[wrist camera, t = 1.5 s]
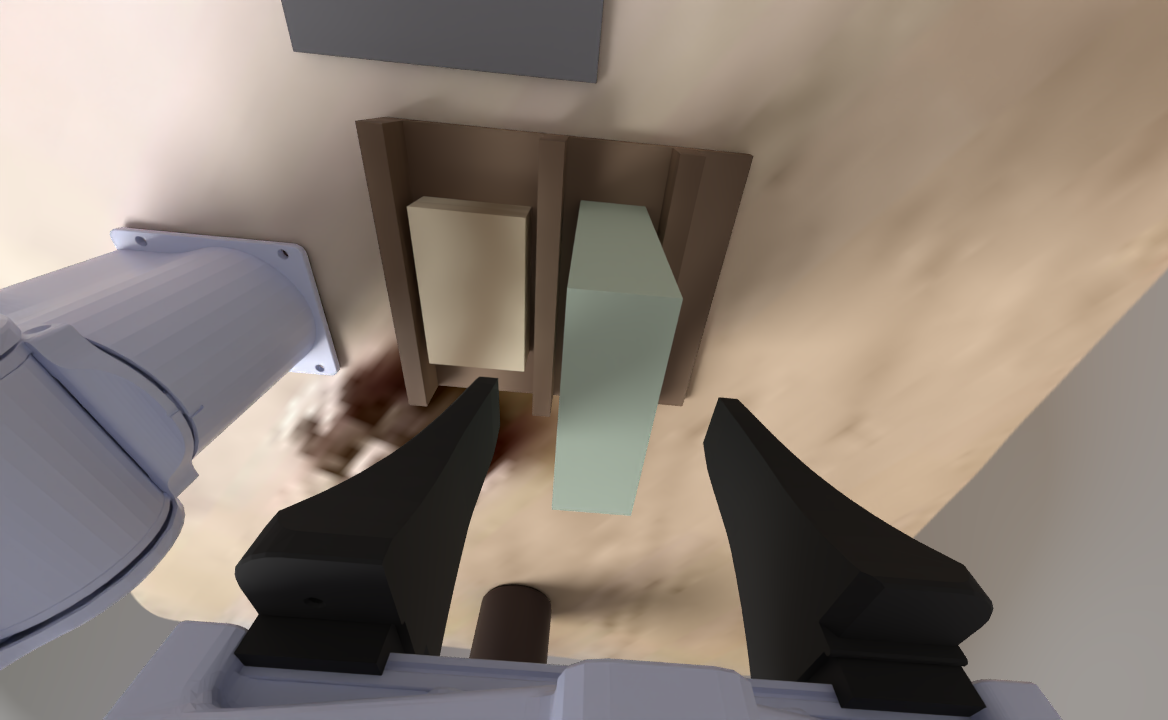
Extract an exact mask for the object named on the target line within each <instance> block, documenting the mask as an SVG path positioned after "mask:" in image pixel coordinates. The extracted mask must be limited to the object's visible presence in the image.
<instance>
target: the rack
mask: <svg viewBox="0 0 1168 720" xmlns="http://www.w3.org/2000/svg"><path fill="white" fill-rule="evenodd" d="M355 123H356V128H357V133H358V138H359V144H360V149H361V154H362V159H363V165H364V170H365V175H366V180H367V186H368V191H369V196H370V201H371V207H372V212H373V217H374V222H375V228H376V233H377V238H378V243H379V249H380V254H381V259H382V264H383V270H384V275H385V280H386V286H387V291H388V296H389V301H390V307H391V312H392V317H393V322H394V328H395V333H396V338H397V343H398V349H399V354H400V359H401V364H402V370H403V375H404V380H405V385H406V391H407V396H408V401H409V405H418V406H427V405H428V403H429V401H430V400H431V398H432V396H433V394H434V392H435V390H436V389H437V387H438V385H443V386H454V387H466V388H468V387H469V386H470V385H471V384H472V383H473V382H474V381H475V380H476V379H477V378H478V377H479V376H480V377H492V378H498V385H499V390H501V391H512V392H524V393H533V412H532V415H536V416H547V417H550V413H551V406H552V399H553V395H559V396H560V384H561V370H562V355H563V341H564V326H565V312H566V297H567V286H568V279H569V273H570V266H571V260H572V254H573V247H574V241H575V234H576V228H577V221H578V215H579V208H580V202H581V200H584V201H594V202H604V203H615V204H625V205H635V206H645V207H646V209H647V211H648V214H649V216H650V219H651V221H652V224H653V226H654V229H655V231H656V234H657V236H658V238H659V241H660V243H661V246H662V248H663V251H664V253H665V256H666V258H667V261H668V263H669V266H670V268H671V270H672V273H673V275H674V278H675V280H676V283H677V285H678V288H679V290H680V293H681V295H682V298H683V301H682V305H681V309H680V313H679V317H678V322H677V326H676V330H675V334H674V338H673V342H672V346H671V351H670V355H669V359H668V363H667V367H666V371H665V376H664V380H663V384H662V388H661V392H660V396H659V401H658V404H663V405H675V406H683V402H684V399H685V395H686V391H687V388H688V384H689V381H690V377H691V374H692V370H693V367H694V363H695V360H696V356H697V353H698V349H699V346H700V342H701V339H702V335H703V332H704V328H705V325H706V321H707V318H708V314H709V310H710V307H711V303H712V300H713V296H714V293H715V289H716V286H717V282H718V279H719V275H720V272H721V268H722V265H723V261H724V258H725V254H726V251H727V247H728V244H729V240H730V236H731V233H732V229H733V226H734V222H735V219H736V215H737V212H738V208H739V205H740V201H741V198H742V194H743V191H744V187H745V184H746V180H747V177H748V173H749V170H750V166H751V163H752V159H753V156H752V155H750V154H743V153H733V152H723V151H714V150H704V149H694V148H684V147H674V146H664V145H655V144H645V143H635V142H625V141H615V140H605V139H596V138H586V137H576V136H566V135H556V134H546V133H537V132H527V131H517V130H507V129H497V128H487V127H477V126H468V125H458V124H448V123H438V122H428V121H418V120H409V119H399V118H389V117H382V118H374V119H366V120H358V121H355ZM423 196H427V197H437V198H447V199H458V200H468V201H478V202H488V203H499V204H509V205H519V206H530V207H532V216H531V277H530V339H529V355H528V358H527V362H526V366H525V370H524V372H522V371H511V370H499V369H488V368H476V367H465V366H454V365H442V364H431V363H429V357H428V350H427V343H426V336H425V329H424V322H423V315H422V309H421V302H420V295H419V288H418V281H417V274H416V267H415V260H414V253H413V246H412V240H411V233H410V226H409V219H408V212H407V206H408V205H410V204H412V203H413V202H415V201H416V200H418V199H420V198H421V197H423Z"/></svg>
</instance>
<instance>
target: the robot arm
mask: <svg viewBox="0 0 1168 720" xmlns="http://www.w3.org/2000/svg"><path fill="white" fill-rule="evenodd" d="M110 236H111V239H112V241H113V243H114V244H115V246H116V248H117V250H116V251H113V252H110V253H107V254H104V255H101V256H98V257H95V258H92V259H89V260H86V261H83V262H80V263H77V264H74V265H71V266H68V267H65V268H62V269H59V270H56V271H53V272H50V273H47V274H44V275H41V276H38V277H35V278H32V279H29V280H26V281H23V282H20V283H17V284H14V285H11V286H8V287H5V288H2V289H0V670H2V669H3V668H5V667H6V666H8V665H10V664H11V663H13V662H15V661H16V660H18V659H20V658H21V657H23V656H25V655H26V654H28V653H30V652H31V651H33V650H35V649H37V648H39V647H40V646H42V645H44V644H46V643H48V642H50V641H52V640H54V639H56V638H58V637H59V636H61V635H63V634H65V633H67V632H69V631H71V630H73V629H75V628H77V627H79V626H81V625H83V624H84V623H86V622H88V621H90V620H91V619H93V618H94V617H96V616H98V615H99V614H101V613H102V612H104V611H105V610H107V609H108V608H110V607H111V606H112V605H114V604H115V603H117V602H118V601H119V600H121V599H122V598H123V597H124V596H126V595H127V594H128V593H129V592H131V591H132V590H133V589H134V588H135V587H136V586H138V585H139V584H140V583H141V582H142V581H143V580H144V579H145V578H146V577H147V576H148V575H149V574H150V573H151V572H152V571H153V570H154V568H155V567H156V566H157V565H158V564H159V562H160V561H161V560H162V559H163V558H164V556H165V555H166V554H167V552H168V551H169V550H170V549H171V547H172V546H173V544H174V542H175V541H176V539H177V537H178V536H179V534H180V532H181V529H182V527H183V524H184V519H185V512H184V507H183V505H182V503H181V502H180V500H179V499H178V498H177V497H178V496H179V495H180V494H181V493H182V492H183V491H184V490H185V489H186V488H187V487H188V486H189V485H190V484H191V483H192V482H193V481H194V480H195V479H196V478H197V477H198V476H199V475H198V473H197V471H196V470H195V469H194V467H193V464H192V459H193V458H194V457H195V456H197V455H198V454H199V453H200V452H201V451H202V450H203V449H204V448H205V447H206V446H208V445H209V444H210V443H211V442H212V441H213V440H214V439H215V438H216V437H217V436H219V435H220V434H221V433H222V432H223V431H224V430H225V429H226V428H227V427H228V426H229V425H231V424H232V423H233V422H234V421H235V420H236V419H237V418H238V417H239V416H240V415H242V414H243V413H244V412H245V411H246V410H247V409H248V408H249V407H250V406H251V405H252V404H254V403H255V402H256V401H257V400H258V399H259V398H260V397H261V396H262V395H263V394H265V393H266V392H267V391H268V390H269V389H270V388H271V387H272V386H273V385H274V384H275V383H277V382H278V381H279V380H280V379H281V378H282V377H283V376H284V375H285V374H286V373H288V372H298V373H310V374H321V375H335V374H336V373H337V372H338V371H339V370H340V366H339V362H338V359H337V355H336V352H335V348H334V345H333V342H332V338H331V335H330V331H329V328H328V324H327V321H326V317H325V314H324V311H323V307H322V304H321V300H320V297H319V293H318V290H317V287H316V283H315V280H314V276H313V273H312V269H311V266H310V263H309V259H308V256H307V253H306V251H305V250H304V249H303V247H301V246H300V245H298V244H294V243H283V242H273V241H262V240H251V239H241V238H230V237H219V236H209V235H198V234H187V233H177V232H166V231H155V230H145V229H134V228H123V227H121V228H116V229H113V230H111V231H110ZM143 238H144V239H145V241H146V242H145V241H144V239H143ZM282 250H284V251H286V252H287V254H288V256H286V255H285V254H284V253H283V251H282ZM320 365H321V366H323V367H324V368H322V367H321V366H320ZM499 427H500V414H499V385H498V378H492V377H480V376H479V377H478V378H477V379H476V380H475V381H474V382H473V383H472V384H471V385H470V386H469V387H468V388H467V389H466V390H465V391H464V392H463V393H462V394H461V395H460V396H459V397H458V398H457V399H456V400H455V401H454V402H453V403H452V404H451V405H450V406H449V407H448V408H447V409H446V410H445V411H444V412H443V413H442V414H441V415H440V416H439V417H437V418H436V419H435V420H434V421H433V422H432V423H431V424H429V425H428V426H427V427H426V428H425V429H423V430H422V431H421V432H420V433H419V434H417V435H416V436H415V437H414V438H412V439H411V440H410V441H408V442H407V443H406V444H404V445H403V446H402V447H400V448H399V449H397V450H396V451H395V452H393V453H392V454H390V455H389V456H387V457H385V458H384V459H382V460H380V461H379V462H377V463H376V464H374V465H372V466H371V467H369V468H367V469H366V470H364V471H362V472H361V473H359V474H357V475H355V476H353V477H351V478H350V479H348V480H346V481H344V482H342V483H340V484H338V485H336V486H334V487H332V488H330V489H328V490H326V491H324V492H322V493H319V494H317V495H315V496H313V497H310V498H308V499H306V500H303V501H301V502H299V503H297V504H294V505H292V506H290V507H287V508H285V509H282V510H280V511H278V513H277V514H276V515H275V516H274V517H273V518H272V520H271V521H270V522H269V523H268V524H267V525H266V527H265V528H264V529H263V531H262V532H261V533H260V535H259V536H258V537H257V539H256V540H255V541H254V543H253V544H252V545H251V547H250V548H249V549H248V551H247V552H246V553H245V555H244V556H243V557H242V559H241V560H240V561H239V563H238V564H237V565H236V567H235V578H236V580H237V582H238V585H239V587H240V588H241V590H242V591H243V592H244V594H245V595H246V597H247V598H248V600H249V601H250V602H251V604H252V605H253V607H254V608H255V609H256V611H257V612H258V614H259V615H258V616H257V618H256V619H255V621H254V623H253V624H252V626H251V627H250V629H249V630H247V629H246V628H244V627H241V626H239V625H234V624H228V623H214V622H200V621H182V622H180V623H178V624H177V626H176V627H175V628H174V630H173V631H172V632H171V633H170V635H169V636H168V637H167V638H166V640H165V641H164V642H163V644H162V645H161V646H160V647H159V649H158V650H157V651H156V652H155V654H154V655H153V656H152V657H151V659H150V660H149V661H148V662H147V664H146V665H145V666H144V668H143V669H142V670H141V672H140V673H139V674H138V675H137V677H136V678H135V679H134V680H133V682H132V683H131V684H130V686H129V687H128V688H127V689H126V690H125V692H124V693H123V694H122V696H121V697H120V698H119V699H118V701H117V702H116V703H115V705H114V706H113V707H112V708H111V710H110V711H109V712H108V713H107V715H106V716H105V717H104V718H103V720H1062V718H1061V717H1060V716H1059V714H1058V713H1057V712H1056V710H1055V709H1054V708H1053V706H1052V705H1051V704H1050V702H1049V701H1048V699H1047V698H1046V697H1045V695H1044V694H1043V693H1042V691H1041V690H1040V689H1039V687H1038V686H1037V685H1036V684H1034V683H1032V682H1023V681H1010V680H996V679H981V680H977V681H973V682H971V681H970V679H969V678H968V676H967V675H966V673H965V672H964V670H963V668H962V667H961V666H966V665H967V664H968V661H967V658H966V656H965V655H964V653H963V652H962V650H961V649H960V647H959V646H958V645H959V644H960V643H961V642H963V641H964V640H965V639H967V638H968V637H969V636H970V635H972V634H973V633H974V632H976V631H977V630H978V629H980V628H981V627H982V626H983V625H984V624H985V623H986V622H987V621H988V620H989V619H990V616H991V614H992V611H993V605H992V601H991V600H990V599H989V597H988V596H987V595H986V593H985V592H984V591H983V589H982V588H981V587H980V586H979V584H978V583H977V582H976V580H975V579H974V578H973V576H972V575H971V574H970V572H969V571H968V570H967V569H966V567H965V566H964V565H963V564H961V563H959V562H957V561H955V560H953V559H951V558H949V557H947V556H945V555H944V554H942V553H940V552H938V551H936V550H934V549H932V548H930V547H928V546H926V545H924V544H922V543H920V542H918V541H917V540H915V539H913V538H911V537H910V536H908V535H906V534H904V533H903V532H901V531H899V530H898V529H896V528H894V527H892V526H891V525H889V524H887V523H886V522H884V521H883V520H881V519H879V518H878V517H876V516H874V515H873V514H871V513H870V512H868V511H867V510H865V509H864V508H862V507H861V506H859V505H858V504H856V503H855V502H853V501H852V500H850V499H849V498H848V497H846V496H845V495H843V494H842V493H841V492H839V491H838V490H837V489H835V488H834V487H833V486H831V485H830V484H829V483H827V482H826V481H825V480H824V479H822V478H821V477H820V476H818V475H817V474H816V473H815V472H813V471H812V470H811V469H810V468H809V467H808V466H806V465H805V464H804V463H803V462H802V461H801V460H800V459H798V458H797V457H796V456H795V455H794V454H793V453H792V452H791V451H790V450H788V449H787V448H786V447H785V446H784V445H783V444H782V443H781V442H780V441H779V440H778V439H777V438H776V437H775V436H774V435H773V434H772V433H771V432H770V431H769V430H768V429H767V428H766V427H765V426H764V425H763V424H762V423H761V422H760V421H759V420H758V419H757V418H756V417H755V416H754V415H753V414H752V413H751V412H750V411H749V410H748V409H747V408H746V407H745V406H744V405H743V404H742V403H741V402H740V401H739V400H738V399H731V398H718V401H717V404H716V407H715V410H714V413H713V416H712V419H711V422H710V425H709V427H708V430H707V433H706V436H705V439H704V442H703V444H704V451H705V458H706V464H707V470H708V473H709V477H710V480H711V484H712V487H713V490H714V494H715V497H716V500H717V503H718V506H719V510H720V513H721V516H722V519H723V523H724V526H725V529H726V532H727V536H728V540H729V544H730V548H731V553H732V558H733V563H734V568H735V573H736V578H737V584H738V590H739V596H740V601H741V607H742V614H743V621H744V627H745V634H746V641H747V649H748V657H749V665H750V674H751V679H748V678H744V677H743V676H741V675H740V674H739V673H737V672H736V671H734V670H731V669H726V668H721V667H716V666H705V665H691V664H678V663H664V662H650V661H636V660H622V659H586V660H583V661H580V662H577V663H574V664H571V665H569V666H568V665H554V664H541V663H527V662H513V661H499V660H485V659H471V658H456V657H443V656H440V652H441V647H442V642H443V637H444V632H445V627H446V622H447V618H448V613H449V608H450V604H451V599H452V595H453V590H454V585H455V581H456V577H457V572H458V568H459V564H460V560H461V555H462V551H463V547H464V543H465V539H466V535H467V531H468V527H469V523H470V520H471V517H472V514H473V511H474V508H475V505H476V502H477V499H478V497H479V494H480V491H481V488H482V485H483V483H484V480H485V477H486V474H487V471H488V468H489V466H490V463H491V460H492V457H493V454H494V450H495V446H496V441H497V437H498V432H499Z"/></svg>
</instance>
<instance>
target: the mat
mask: <svg viewBox="0 0 1168 720" xmlns="http://www.w3.org/2000/svg"><path fill="white" fill-rule="evenodd" d="M281 2H282V6H283V10H284V14H285V18H286V22H287V27H288V31H289V35H290V39H291V43H292V47H293V51H294V52H303V53H312V54H322V55H331V56H341V57H350V58H360V59H369V60H379V61H388V62H398V63H407V64H417V65H426V66H436V67H446V68H455V69H465V70H474V71H484V72H493V73H503V74H512V75H522V76H531V77H541V78H550V79H560V80H569V81H579V82H588V83H596V81H597V70H598V58H599V47H600V35H601V23H602V12H603V0H281Z"/></svg>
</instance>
